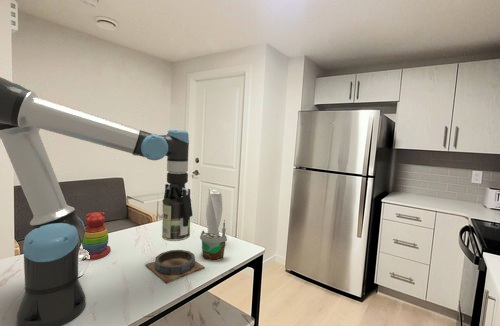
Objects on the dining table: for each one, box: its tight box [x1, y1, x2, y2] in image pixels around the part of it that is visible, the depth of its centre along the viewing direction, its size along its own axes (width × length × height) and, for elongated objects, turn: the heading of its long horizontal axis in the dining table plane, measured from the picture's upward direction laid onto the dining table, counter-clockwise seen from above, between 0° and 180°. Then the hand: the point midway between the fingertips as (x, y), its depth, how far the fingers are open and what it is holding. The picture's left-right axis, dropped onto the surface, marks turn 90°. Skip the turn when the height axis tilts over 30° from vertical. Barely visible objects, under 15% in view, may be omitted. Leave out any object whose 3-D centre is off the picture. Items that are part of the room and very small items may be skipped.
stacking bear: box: [81, 211, 112, 261], centre depth 107 cm, size 11×10×18 cm
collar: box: [154, 249, 196, 275], centre depth 100 cm, size 14×14×3 cm
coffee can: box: [161, 198, 191, 242], centre depth 99 cm, size 10×10×14 cm
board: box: [144, 258, 206, 284], centre depth 101 cm, size 16×16×1 cm
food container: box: [199, 230, 228, 262], centre depth 110 cm, size 12×6×10 cm, turn 65°
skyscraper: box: [205, 187, 226, 237], centre depth 121 cm, size 8×8×28 cm
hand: (176, 230), depth 99 cm, fingers closed on coffee can, 10 cm apart
